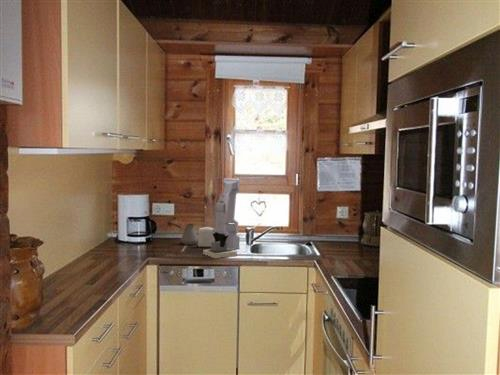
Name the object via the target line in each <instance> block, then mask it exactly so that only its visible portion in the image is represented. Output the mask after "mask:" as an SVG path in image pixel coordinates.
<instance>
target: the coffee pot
mask: <svg viewBox="0 0 500 375" xmlns="http://www.w3.org/2000/svg"><path fill="white" fill-rule="evenodd" d="M168 225H169V227H171V226H174V227H177V228H179V229H182V230H184V232H183V233H182V236H181V238H180V242H181V243H183V245H185V246H191V245H192V246H193V245H196V243H197V244H198V235H197V232H196V230H195V226H196V224H194V223H185V224H184V226H185V227H183V226H180V225H178V224H175V223H173V222H170V223H169V224H168Z"/></svg>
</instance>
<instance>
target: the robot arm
mask: <svg viewBox="0 0 500 375" xmlns="http://www.w3.org/2000/svg"><path fill="white" fill-rule="evenodd" d="M222 187H223V193H221V194H220V195H219V198H218V200H217V202H216V203H215V205H214V214H215V228H213V232H214V234H213V236H214V242H216V241H220V246H221V247H224V246H225V242H227V249H230V250H235V249H237V250H238V249H240V248H241V247H240V236H239V222H238V220H236V219H235V216H236V215H235V213H236V203H237V202H236V201H237V194H238V193H239V192H240V188H241V181H240V179H239V178H228V177H224V178H223V180H222Z"/></svg>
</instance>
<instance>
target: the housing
mask: <svg viewBox="0 0 500 375" xmlns="http://www.w3.org/2000/svg"><path fill="white" fill-rule="evenodd" d="M210 249H211V250H212V251H215V252H218V251H226V250H227V242H225V246H224V247H221V246H220V241H216V242H215V241H214V242H212V243H211V247H210Z"/></svg>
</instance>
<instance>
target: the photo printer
mask: <svg viewBox="0 0 500 375" xmlns="http://www.w3.org/2000/svg"><path fill="white" fill-rule="evenodd" d="M213 229H214V228H213V227H210V226H205V227H200V228H199V229H198V232H197V233H198V235H197V237H198V242H197V246H198V247H199V248H200V247H203V248H204V247H206V248H211V243H212V242H215V239H214V236H213V234H214V233H215V232H213Z"/></svg>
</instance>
